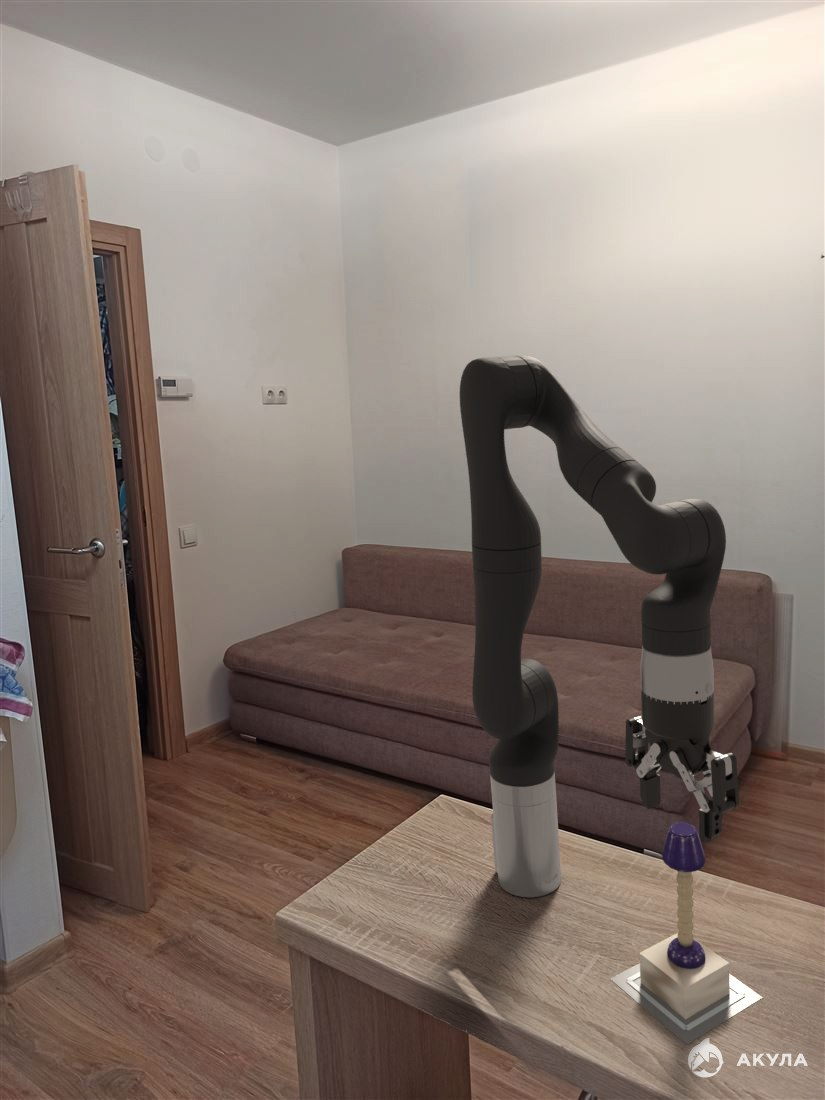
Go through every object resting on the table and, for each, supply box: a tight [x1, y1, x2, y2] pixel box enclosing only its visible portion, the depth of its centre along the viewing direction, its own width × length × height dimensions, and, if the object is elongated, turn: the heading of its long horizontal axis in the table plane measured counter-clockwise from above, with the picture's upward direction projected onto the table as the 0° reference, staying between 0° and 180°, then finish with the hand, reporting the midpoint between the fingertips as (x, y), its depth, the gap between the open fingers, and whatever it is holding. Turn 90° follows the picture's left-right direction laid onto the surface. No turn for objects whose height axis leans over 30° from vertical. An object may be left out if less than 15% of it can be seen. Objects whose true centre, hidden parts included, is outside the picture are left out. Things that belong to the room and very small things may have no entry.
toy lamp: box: [661, 822, 706, 969], centre depth 93 cm, size 5×5×17 cm
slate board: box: [609, 962, 764, 1045], centre depth 96 cm, size 12×12×1 cm
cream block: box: [639, 932, 730, 1019], centre depth 96 cm, size 7×7×4 cm
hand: (679, 821), depth 92 cm, fingers open, 8 cm apart
